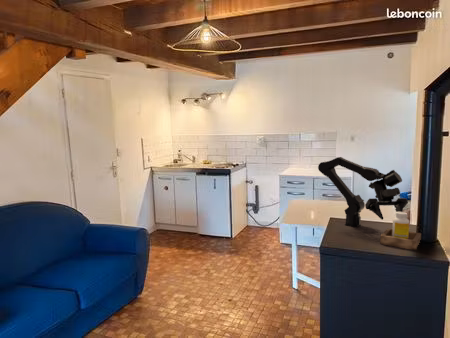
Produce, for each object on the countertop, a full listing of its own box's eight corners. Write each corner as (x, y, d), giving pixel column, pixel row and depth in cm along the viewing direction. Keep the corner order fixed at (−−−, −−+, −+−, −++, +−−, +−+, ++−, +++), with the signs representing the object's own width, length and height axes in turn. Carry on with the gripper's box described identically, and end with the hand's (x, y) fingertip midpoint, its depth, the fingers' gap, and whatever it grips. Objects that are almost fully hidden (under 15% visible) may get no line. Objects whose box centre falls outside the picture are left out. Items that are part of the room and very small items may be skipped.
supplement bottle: (411, 243, 153) (412, 214, 152) (395, 243, 153) (397, 214, 152) (403, 238, 160) (405, 211, 158) (389, 238, 160) (390, 210, 158)
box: (380, 243, 155) (380, 235, 155) (387, 236, 166) (387, 228, 166) (415, 250, 147) (416, 241, 146) (420, 241, 158) (421, 233, 158)
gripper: (369, 181, 166) (379, 210, 156) (407, 181, 167) (419, 209, 157) (360, 195, 174) (370, 222, 165) (397, 194, 176) (408, 222, 166)
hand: (392, 219), depth 163 cm, fingers open, 9 cm apart
